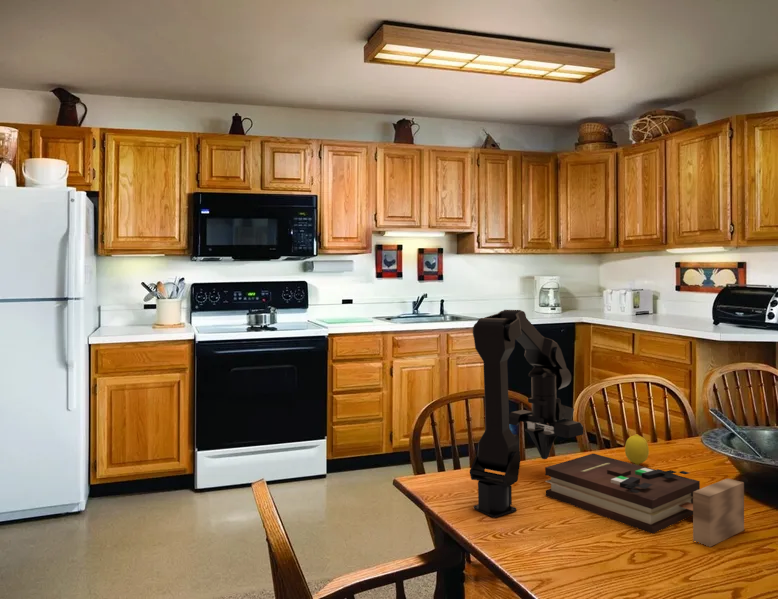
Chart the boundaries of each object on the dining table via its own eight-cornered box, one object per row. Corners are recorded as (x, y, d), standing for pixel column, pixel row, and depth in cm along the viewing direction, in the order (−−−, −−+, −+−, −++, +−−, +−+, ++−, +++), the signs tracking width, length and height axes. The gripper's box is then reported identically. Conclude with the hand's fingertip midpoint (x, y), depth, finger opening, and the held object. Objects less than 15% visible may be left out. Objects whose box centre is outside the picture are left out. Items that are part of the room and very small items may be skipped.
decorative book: (587, 446, 145) (714, 478, 121) (588, 478, 145) (714, 516, 121) (533, 462, 134) (660, 500, 110) (533, 496, 134) (660, 542, 110)
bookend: (709, 547, 106) (709, 496, 106) (693, 541, 109) (692, 491, 109) (744, 530, 113) (743, 482, 113) (727, 524, 116) (727, 478, 115)
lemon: (650, 464, 154) (650, 432, 153) (646, 470, 149) (646, 438, 149) (627, 461, 156) (627, 430, 156) (623, 466, 152) (622, 435, 152)
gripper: (598, 395, 141) (599, 461, 142) (537, 385, 157) (538, 444, 157) (566, 401, 135) (567, 471, 136) (506, 390, 151) (507, 452, 151)
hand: (544, 458), depth 145 cm, fingers closed
